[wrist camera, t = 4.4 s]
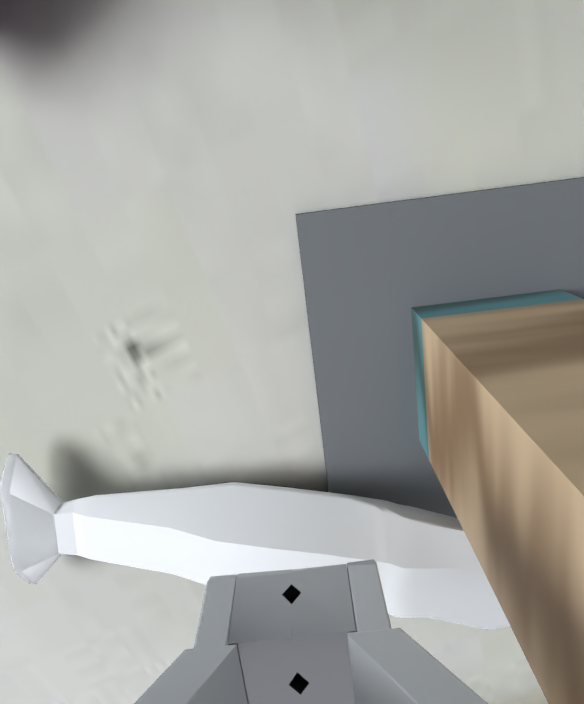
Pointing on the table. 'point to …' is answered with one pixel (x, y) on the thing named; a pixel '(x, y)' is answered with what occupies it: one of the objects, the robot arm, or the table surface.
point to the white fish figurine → (253, 539)
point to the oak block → (514, 459)
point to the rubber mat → (396, 317)
